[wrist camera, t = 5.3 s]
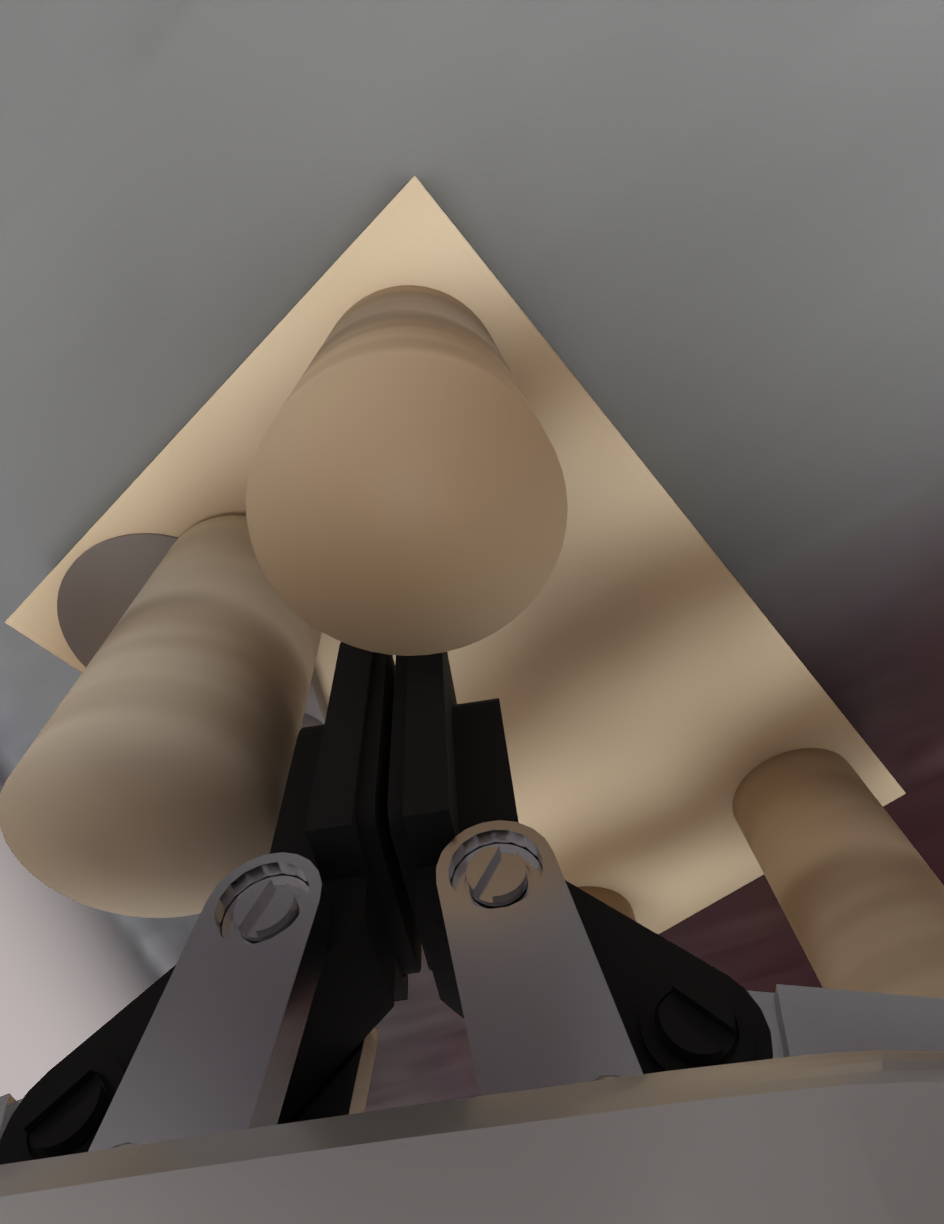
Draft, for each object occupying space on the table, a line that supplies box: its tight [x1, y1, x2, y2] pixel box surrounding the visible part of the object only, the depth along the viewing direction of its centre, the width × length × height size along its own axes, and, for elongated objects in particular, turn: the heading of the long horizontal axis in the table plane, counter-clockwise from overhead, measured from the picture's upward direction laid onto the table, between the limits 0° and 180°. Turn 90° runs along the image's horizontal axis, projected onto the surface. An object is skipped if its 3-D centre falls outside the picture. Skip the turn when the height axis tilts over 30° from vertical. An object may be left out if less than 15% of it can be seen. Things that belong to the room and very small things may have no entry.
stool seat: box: [5, 176, 944, 998], centre depth 16 cm, size 21×13×10 cm, turn 42°
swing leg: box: [0, 515, 328, 918], centre depth 13 cm, size 7×4×7 cm, turn 8°
